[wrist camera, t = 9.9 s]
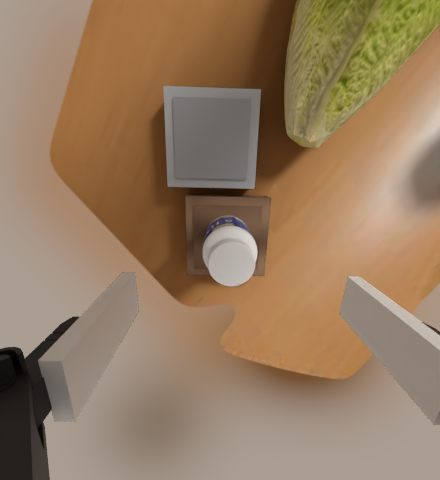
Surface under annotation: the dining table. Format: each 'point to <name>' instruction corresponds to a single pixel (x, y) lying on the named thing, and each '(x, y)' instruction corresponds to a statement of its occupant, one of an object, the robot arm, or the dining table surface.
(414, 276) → the dining table surface
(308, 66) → the lettuce
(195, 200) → the stand
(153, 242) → the dining table surface
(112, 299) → the robot arm
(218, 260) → the pill bottle
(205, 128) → the stand
